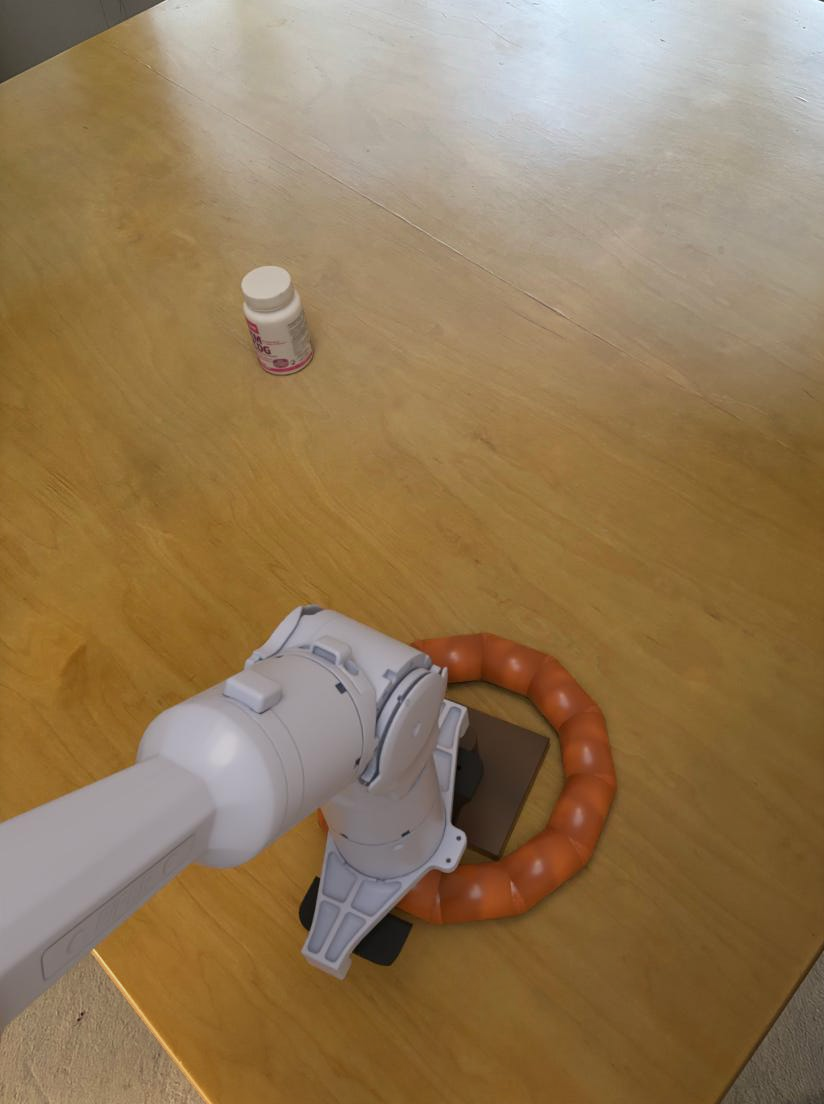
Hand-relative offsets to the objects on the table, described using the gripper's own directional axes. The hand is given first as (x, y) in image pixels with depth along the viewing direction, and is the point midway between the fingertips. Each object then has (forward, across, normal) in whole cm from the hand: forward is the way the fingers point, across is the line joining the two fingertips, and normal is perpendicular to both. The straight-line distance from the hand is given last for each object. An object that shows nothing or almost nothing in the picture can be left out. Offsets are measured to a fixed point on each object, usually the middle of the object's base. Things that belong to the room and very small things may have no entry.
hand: (409, 882), depth 61 cm
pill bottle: (+2, +36, +30) cm, 47 cm away
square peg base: (+1, +8, 0) cm, 8 cm away
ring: (0, +8, 0) cm, 8 cm away
